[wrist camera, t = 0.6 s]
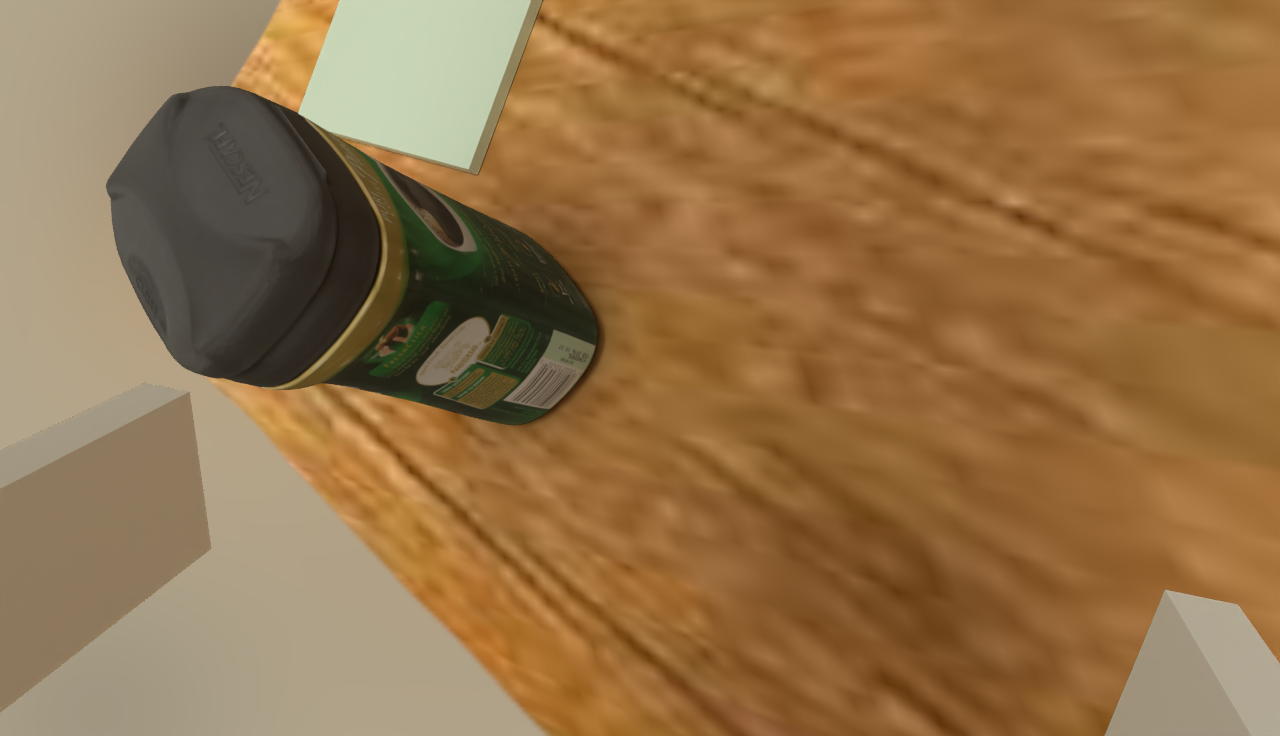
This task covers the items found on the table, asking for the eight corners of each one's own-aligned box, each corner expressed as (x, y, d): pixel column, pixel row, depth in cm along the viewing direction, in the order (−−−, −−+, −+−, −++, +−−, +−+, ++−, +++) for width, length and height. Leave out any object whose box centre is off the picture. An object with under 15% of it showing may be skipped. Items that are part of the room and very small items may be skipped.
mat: (396, -119, 49) (387, -129, 48) (582, -108, 43) (575, -119, 42) (305, 127, 49) (294, 122, 48) (477, 175, 43) (468, 169, 42)
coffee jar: (422, 322, 43) (45, 206, 26) (519, 212, 41) (184, 14, 25) (519, 457, 39) (150, 422, 22) (631, 342, 37) (323, 210, 21)
